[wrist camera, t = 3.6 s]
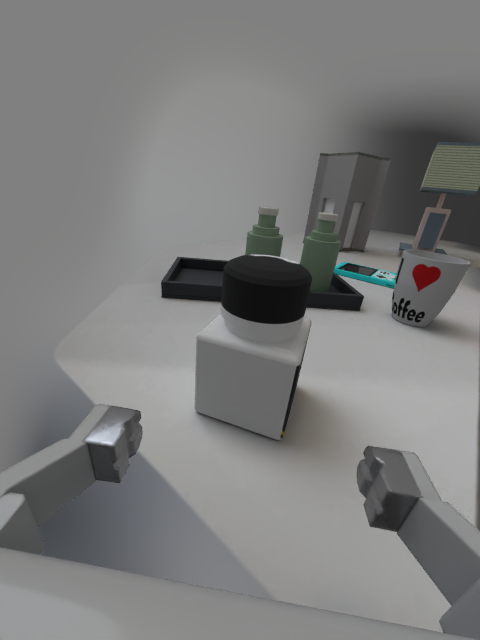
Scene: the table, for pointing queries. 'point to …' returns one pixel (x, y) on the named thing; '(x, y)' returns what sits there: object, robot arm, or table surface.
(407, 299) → the cup
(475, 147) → the desk lamp
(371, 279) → the handheld game console
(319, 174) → the grey toy building
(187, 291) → the tray
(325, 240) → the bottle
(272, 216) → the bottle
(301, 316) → the medicine bottle
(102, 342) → the table surface
